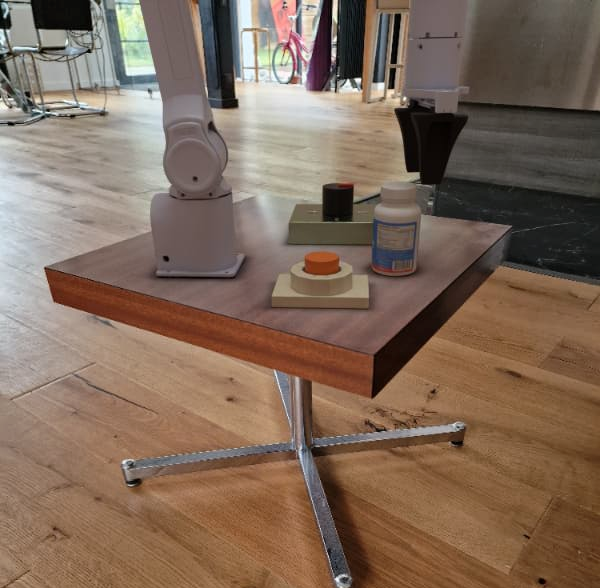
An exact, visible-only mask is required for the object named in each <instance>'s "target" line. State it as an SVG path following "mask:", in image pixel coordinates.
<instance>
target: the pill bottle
mask: <svg viewBox="0 0 600 588" xmlns="http://www.w3.org/2000/svg"><path fill="white" fill-rule="evenodd" d="M417 195H418V185H417V184H416V183H413V182H409V181H389V182H383V183H381V185H380V193H379V197H380V199H381V201H382V202H380V203H377V204H378V205H377V206H376V207H375V209H374V221H373V244H372V245H371V247H372V248H371V269H372V270H373V272H375V273H377V274H379V275H383V276H388V277H402V276H407V275H410V274H413V273H414V272H416V270H417V267H418V257H419V245H420V232H421V222H422V208H421V207H420V206H419V204H417V203H416V202H415V200H417Z"/></svg>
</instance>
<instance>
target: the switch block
mask: <svg viewBox="0 0 600 588" xmlns="http://www.w3.org/2000/svg"><path fill="white" fill-rule="evenodd" d="M353 267H354V266H352V265H351V264H349V263H347V262H346V261H341V260H339V272H338V273H336V274H332V275H311V274H307V273H305V260H303V261H300V262H298V263H296V264H295V263H294V265H292V266H291V268H290V273H279V274H278V277H277V279H276V282H275V284H274V287H273V291H272V293H271V307H272V308H313V309H315V308H317V309H370V286H369V274H353V269H354V268H353Z"/></svg>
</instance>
